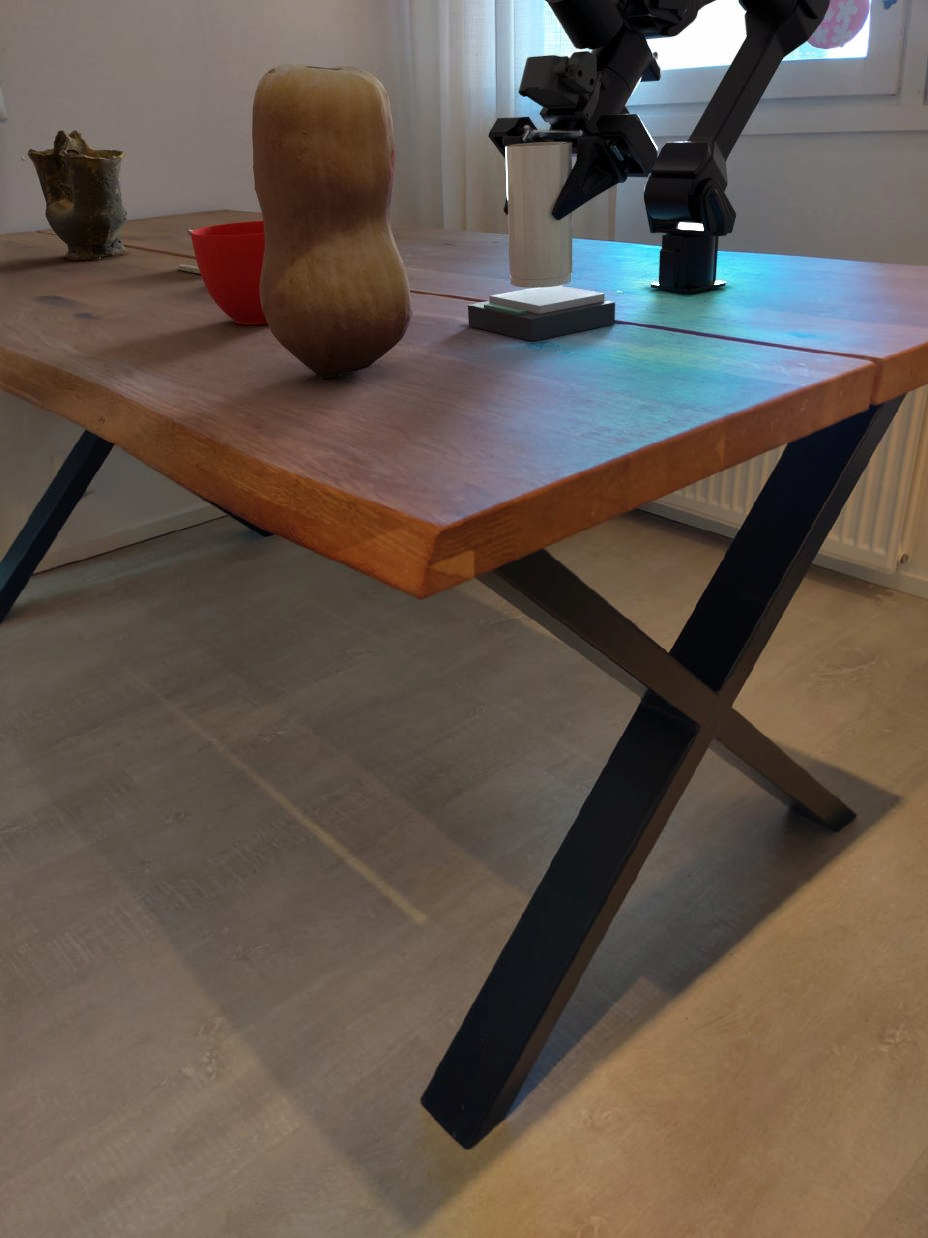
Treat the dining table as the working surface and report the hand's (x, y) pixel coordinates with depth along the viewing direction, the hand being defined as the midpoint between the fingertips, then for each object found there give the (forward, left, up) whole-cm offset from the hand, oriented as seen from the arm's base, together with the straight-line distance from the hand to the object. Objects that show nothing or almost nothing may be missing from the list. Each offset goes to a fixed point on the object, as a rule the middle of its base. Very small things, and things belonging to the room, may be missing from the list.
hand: (530, 215), depth 101 cm
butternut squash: (+24, +2, -11) cm, 26 cm away
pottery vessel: (+15, -104, -11) cm, 105 cm away
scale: (-1, 0, -11) cm, 11 cm away
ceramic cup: (+19, -29, -11) cm, 36 cm away
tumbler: (-1, 0, -7) cm, 7 cm away
